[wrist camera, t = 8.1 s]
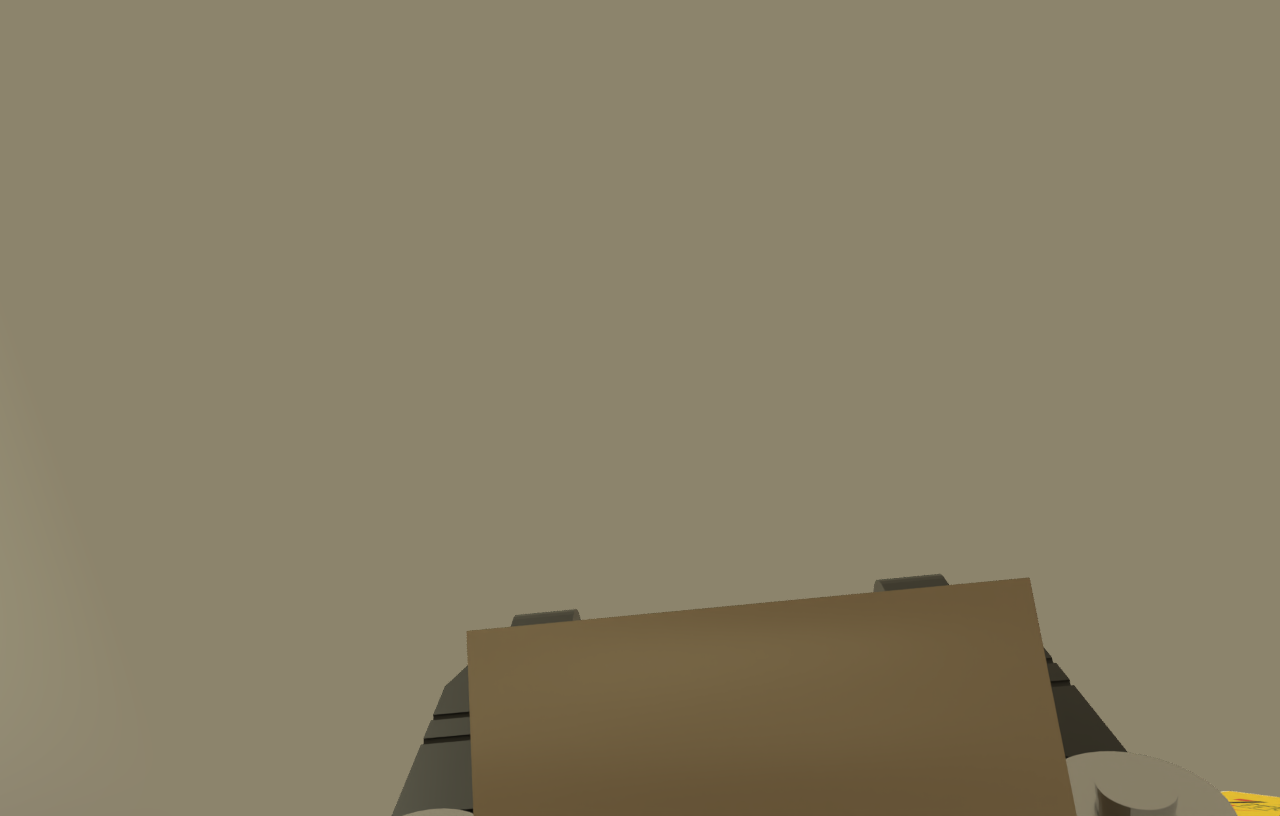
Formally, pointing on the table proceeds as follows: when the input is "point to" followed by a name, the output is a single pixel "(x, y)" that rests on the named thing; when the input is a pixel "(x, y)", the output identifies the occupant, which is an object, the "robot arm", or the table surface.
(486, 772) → the bar
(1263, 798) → the packaging box
